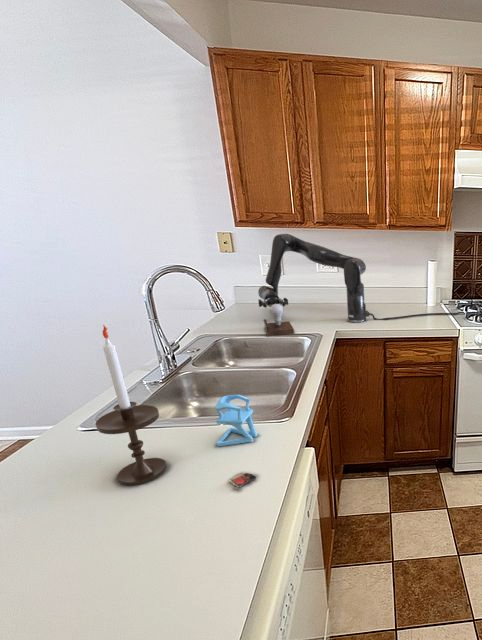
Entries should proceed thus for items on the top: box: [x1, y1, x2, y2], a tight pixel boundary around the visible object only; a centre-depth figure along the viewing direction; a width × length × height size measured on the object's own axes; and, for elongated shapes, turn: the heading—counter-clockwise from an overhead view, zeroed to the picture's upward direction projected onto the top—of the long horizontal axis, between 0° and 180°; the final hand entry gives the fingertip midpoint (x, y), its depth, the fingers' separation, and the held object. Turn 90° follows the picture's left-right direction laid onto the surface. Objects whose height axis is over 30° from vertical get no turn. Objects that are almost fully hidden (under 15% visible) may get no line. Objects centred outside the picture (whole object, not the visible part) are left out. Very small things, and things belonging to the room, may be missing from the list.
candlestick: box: [95, 324, 168, 487], centre depth 84 cm, size 11×11×35 cm
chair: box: [214, 394, 258, 447], centre depth 102 cm, size 8×8×12 cm
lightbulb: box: [269, 304, 284, 326], centre depth 193 cm, size 6×6×11 cm
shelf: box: [263, 318, 295, 337], centre depth 195 cm, size 12×15×4 cm
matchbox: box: [229, 472, 257, 490], centre depth 88 cm, size 5×5×1 cm
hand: (274, 305), depth 199 cm, fingers open, 8 cm apart
